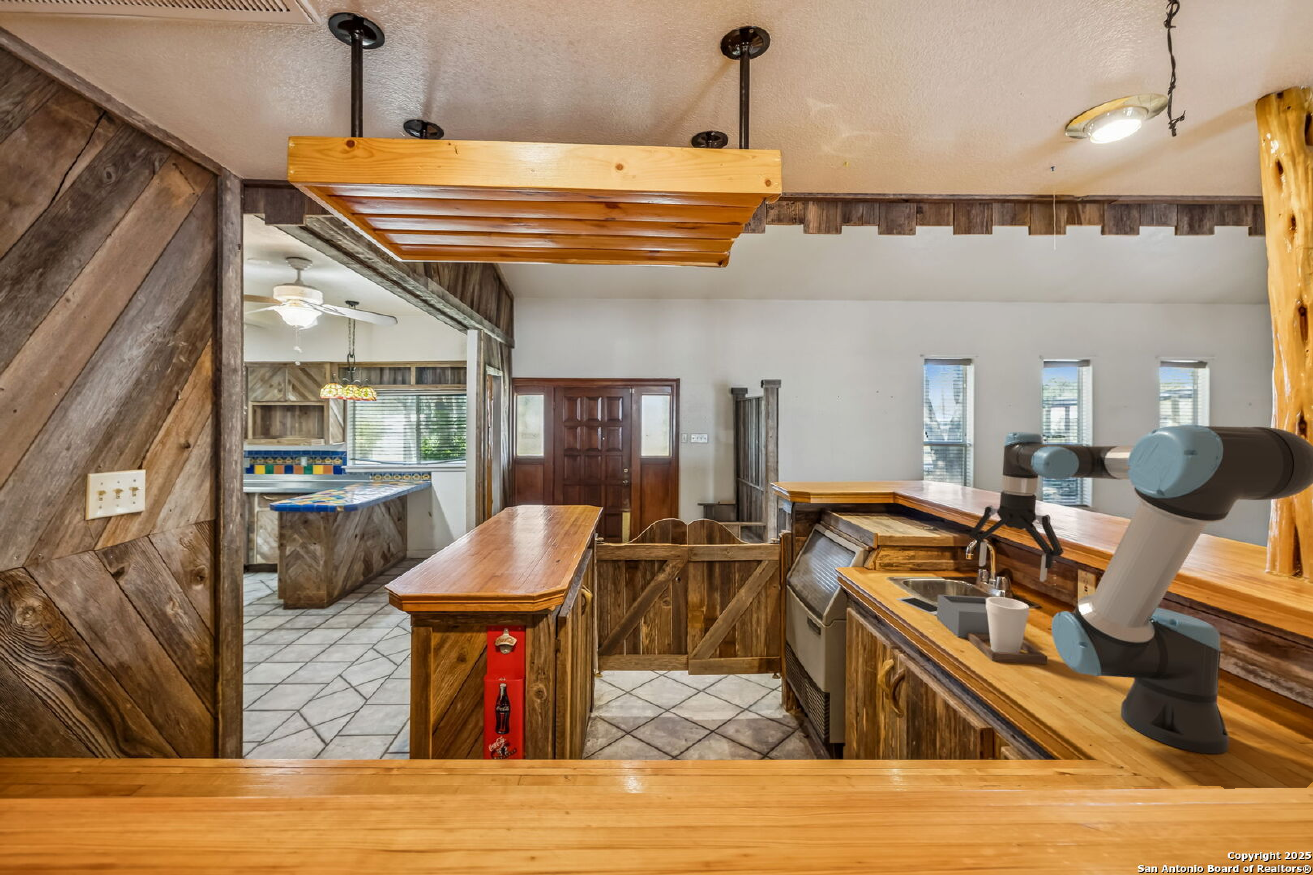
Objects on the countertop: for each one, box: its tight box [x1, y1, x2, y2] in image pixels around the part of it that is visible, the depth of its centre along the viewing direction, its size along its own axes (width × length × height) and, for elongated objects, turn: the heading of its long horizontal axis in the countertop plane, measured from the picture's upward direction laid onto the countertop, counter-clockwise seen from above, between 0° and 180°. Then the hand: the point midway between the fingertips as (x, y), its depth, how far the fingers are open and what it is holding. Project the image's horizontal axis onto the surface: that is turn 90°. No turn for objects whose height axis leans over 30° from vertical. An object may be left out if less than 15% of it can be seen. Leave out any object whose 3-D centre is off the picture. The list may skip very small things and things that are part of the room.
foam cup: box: [986, 596, 1030, 653], centre depth 138 cm, size 10×9×13 cm
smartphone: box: [896, 595, 937, 617], centre depth 171 cm, size 7×15×1 cm, turn 21°
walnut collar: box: [966, 632, 1048, 665], centre depth 138 cm, size 13×13×2 cm
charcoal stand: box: [936, 594, 989, 639], centre depth 152 cm, size 14×14×8 cm
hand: (1011, 572), depth 136 cm, fingers open, 13 cm apart
